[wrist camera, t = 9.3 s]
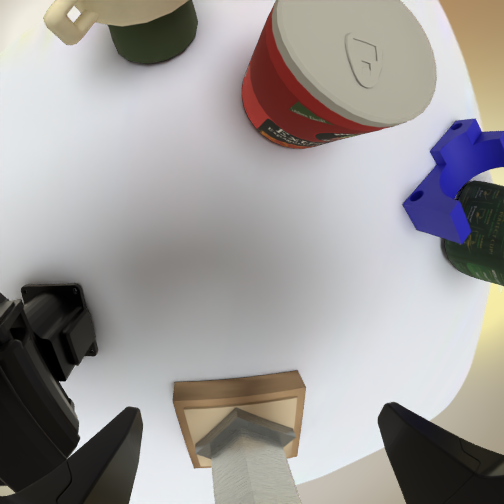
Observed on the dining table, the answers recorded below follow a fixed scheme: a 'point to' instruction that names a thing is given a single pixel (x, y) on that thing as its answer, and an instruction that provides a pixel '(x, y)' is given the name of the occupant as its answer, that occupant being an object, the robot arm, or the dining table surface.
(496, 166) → the cable clip
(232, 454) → the steel housing
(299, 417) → the light tan tray
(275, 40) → the canned food
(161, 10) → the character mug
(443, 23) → the dining table surface
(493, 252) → the coffee jar
